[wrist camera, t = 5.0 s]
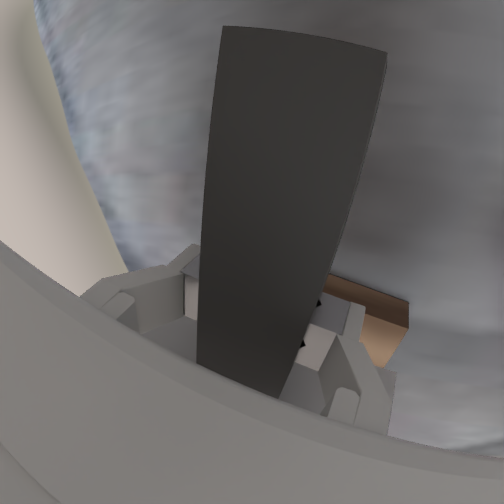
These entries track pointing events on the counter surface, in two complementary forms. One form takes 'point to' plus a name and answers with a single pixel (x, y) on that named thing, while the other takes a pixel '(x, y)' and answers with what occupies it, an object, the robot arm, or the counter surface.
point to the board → (374, 317)
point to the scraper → (276, 203)
